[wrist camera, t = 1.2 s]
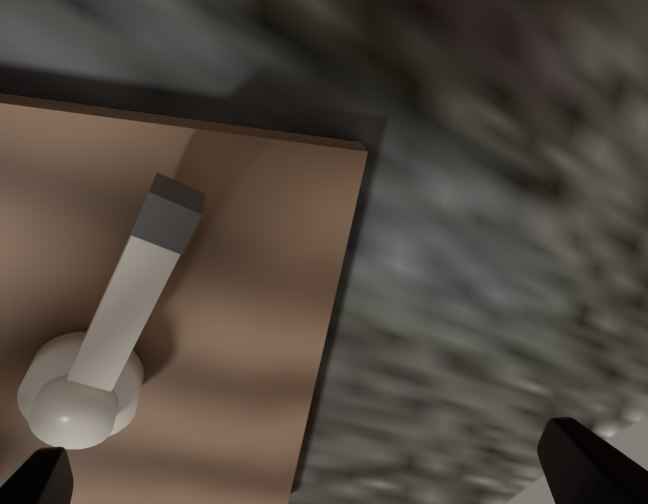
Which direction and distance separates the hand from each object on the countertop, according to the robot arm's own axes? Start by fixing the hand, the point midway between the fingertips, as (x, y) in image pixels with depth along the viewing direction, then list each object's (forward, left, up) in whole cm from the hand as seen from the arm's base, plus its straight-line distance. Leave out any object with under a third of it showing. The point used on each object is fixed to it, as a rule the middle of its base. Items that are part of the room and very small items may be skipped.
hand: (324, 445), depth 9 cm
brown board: (-9, +7, -13) cm, 17 cm away
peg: (-5, +6, -11) cm, 13 cm away
